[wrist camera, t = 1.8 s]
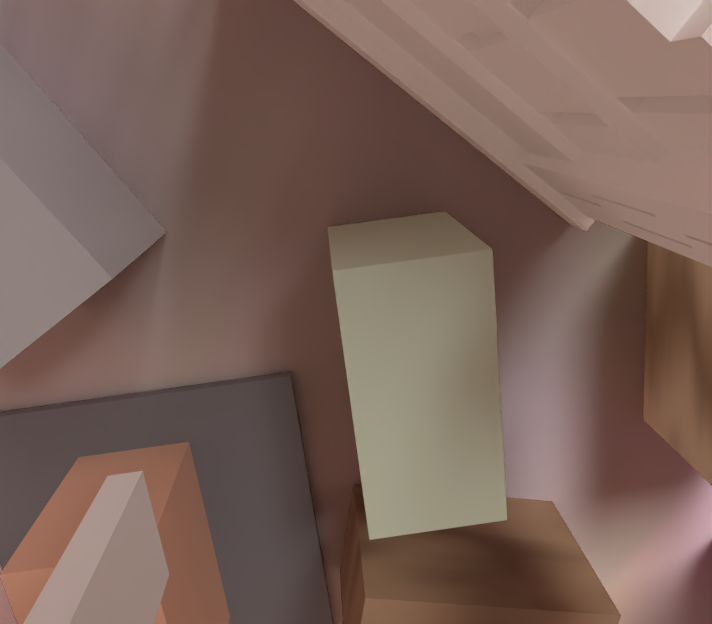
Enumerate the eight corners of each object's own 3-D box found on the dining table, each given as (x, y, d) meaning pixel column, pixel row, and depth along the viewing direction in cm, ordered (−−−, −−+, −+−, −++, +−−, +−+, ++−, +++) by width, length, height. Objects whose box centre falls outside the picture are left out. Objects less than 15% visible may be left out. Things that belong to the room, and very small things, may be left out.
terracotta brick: (78, 457, 23) (-1, 574, 17) (189, 441, 23) (147, 553, 17) (130, 630, 25) (76, 784, 20) (229, 616, 25) (205, 764, 20)
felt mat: (-46, 418, 22) (-52, 423, 22) (290, 371, 23) (290, 376, 22) (48, 674, 26) (44, 683, 26) (334, 632, 26) (335, 640, 26)
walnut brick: (339, 568, 26) (347, 700, 20) (353, 483, 24) (365, 598, 19) (529, 582, 26) (588, 713, 21) (551, 500, 25) (621, 615, 19)
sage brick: (327, 226, 21) (332, 270, 15) (444, 210, 21) (492, 249, 16) (356, 435, 24) (369, 539, 18) (460, 420, 24) (507, 519, 18)
